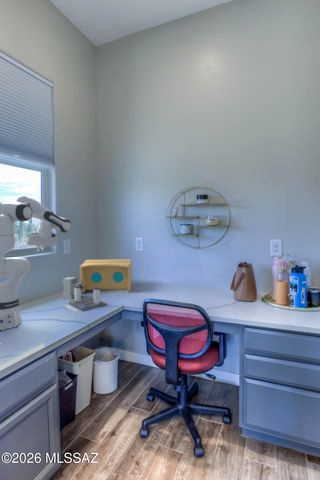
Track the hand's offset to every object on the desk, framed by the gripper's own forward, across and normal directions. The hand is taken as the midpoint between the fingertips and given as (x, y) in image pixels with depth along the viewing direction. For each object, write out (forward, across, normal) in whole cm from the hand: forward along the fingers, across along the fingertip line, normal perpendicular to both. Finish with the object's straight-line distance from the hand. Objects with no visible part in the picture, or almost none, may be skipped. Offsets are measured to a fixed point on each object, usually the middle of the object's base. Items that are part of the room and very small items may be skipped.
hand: (39, 251), depth 193 cm
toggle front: (+23, +29, -41) cm, 55 cm away
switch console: (+27, +24, -34) cm, 50 cm away
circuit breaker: (+33, +29, -12) cm, 45 cm away
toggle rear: (+27, +22, -27) cm, 45 cm away
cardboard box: (+29, +60, -11) cm, 68 cm away
